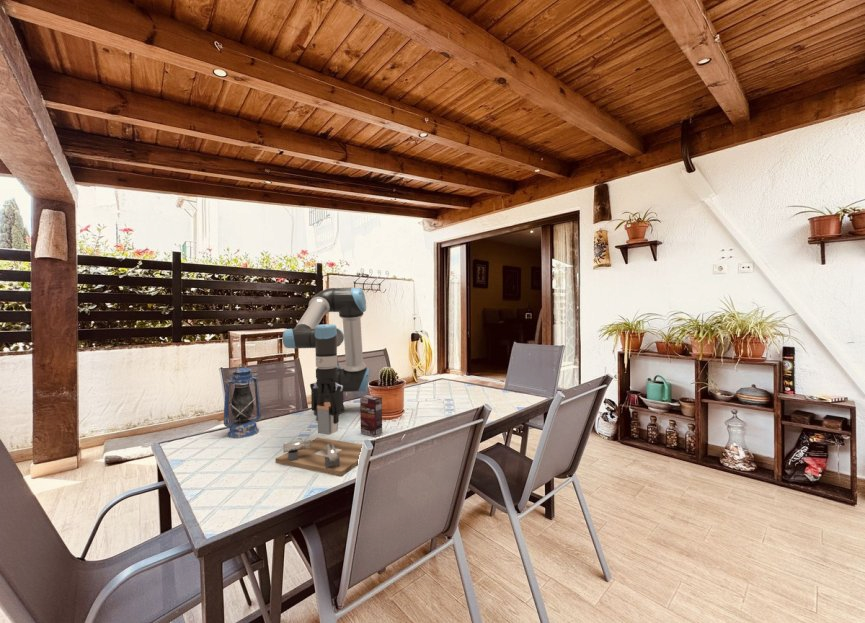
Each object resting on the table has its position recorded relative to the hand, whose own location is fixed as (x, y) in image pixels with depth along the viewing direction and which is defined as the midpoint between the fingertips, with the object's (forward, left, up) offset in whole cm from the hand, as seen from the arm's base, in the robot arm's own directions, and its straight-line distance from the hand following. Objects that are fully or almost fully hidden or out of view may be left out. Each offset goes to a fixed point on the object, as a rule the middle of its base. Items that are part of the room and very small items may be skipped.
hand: (327, 431), depth 135 cm
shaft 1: (+7, -7, -8) cm, 13 cm away
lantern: (-7, -51, -10) cm, 52 cm away
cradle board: (0, 0, -9) cm, 9 cm away
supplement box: (-26, +2, -10) cm, 28 cm away
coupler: (0, 0, 0) cm, 0 cm away
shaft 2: (+7, +7, -8) cm, 13 cm away
